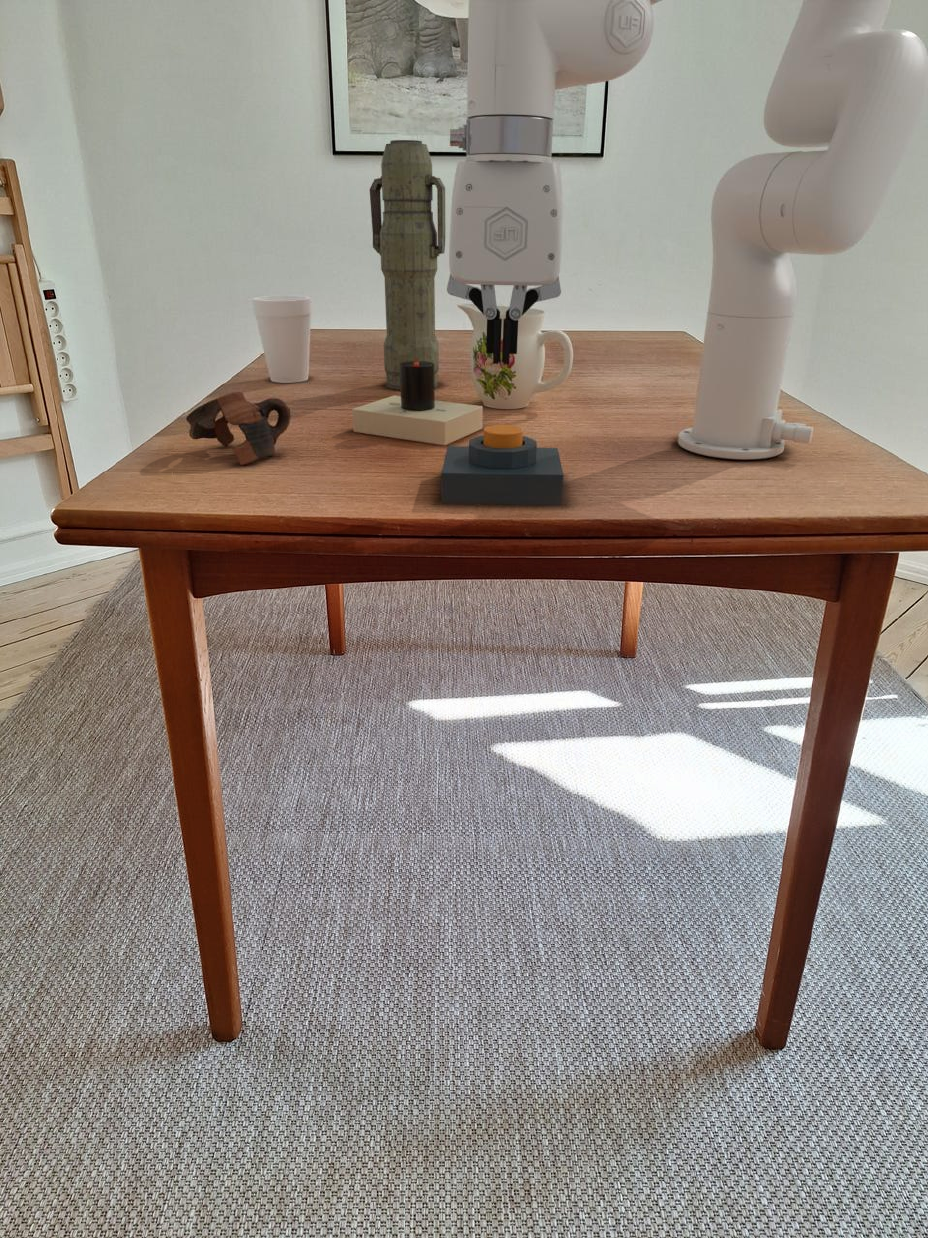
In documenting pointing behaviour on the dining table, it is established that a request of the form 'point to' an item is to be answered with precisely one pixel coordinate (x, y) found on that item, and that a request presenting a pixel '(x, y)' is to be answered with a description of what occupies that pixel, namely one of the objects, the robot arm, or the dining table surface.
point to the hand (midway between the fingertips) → (501, 361)
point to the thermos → (408, 253)
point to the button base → (502, 474)
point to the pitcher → (514, 360)
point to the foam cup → (285, 335)
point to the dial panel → (418, 421)
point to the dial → (417, 385)
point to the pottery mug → (241, 424)
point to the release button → (502, 436)
